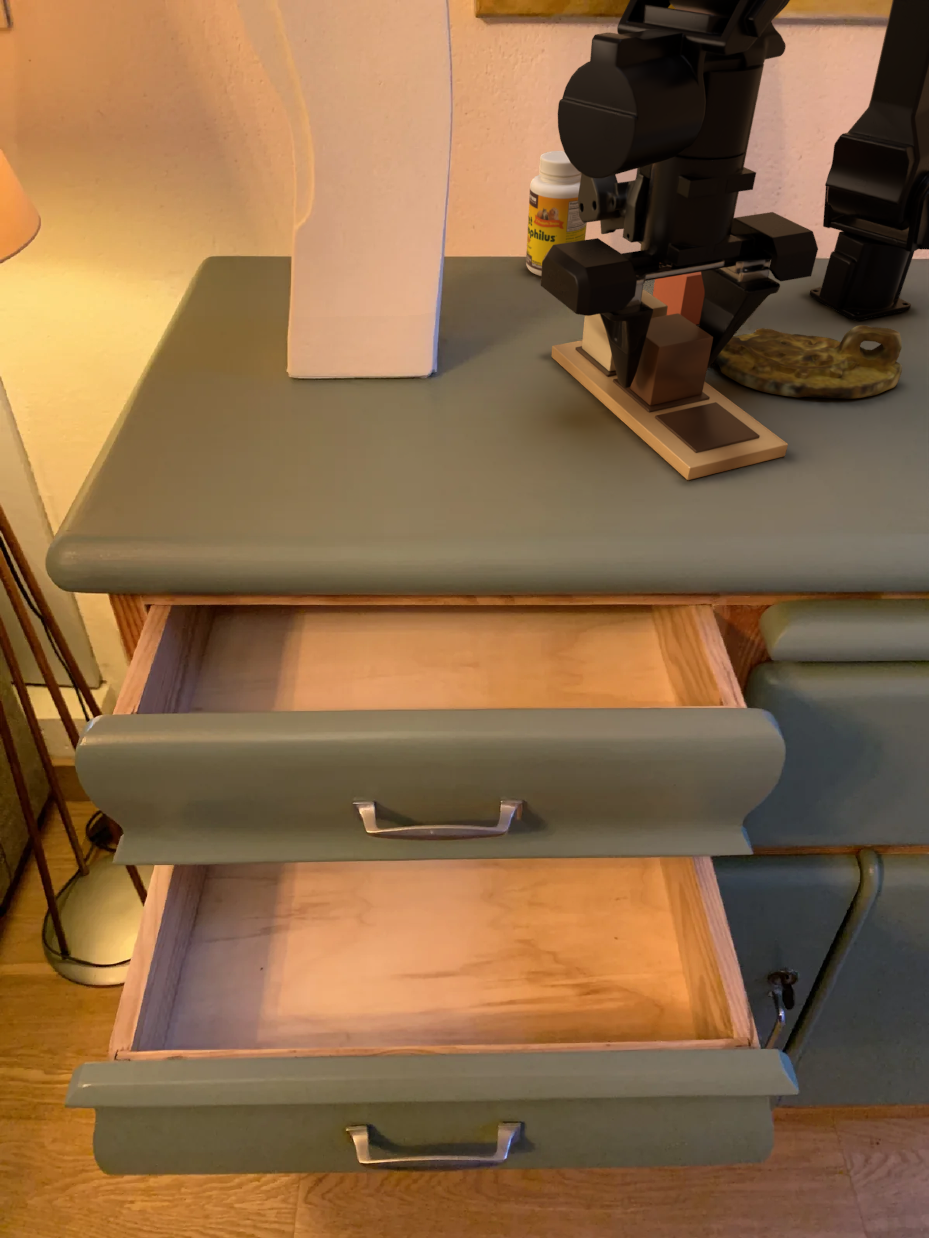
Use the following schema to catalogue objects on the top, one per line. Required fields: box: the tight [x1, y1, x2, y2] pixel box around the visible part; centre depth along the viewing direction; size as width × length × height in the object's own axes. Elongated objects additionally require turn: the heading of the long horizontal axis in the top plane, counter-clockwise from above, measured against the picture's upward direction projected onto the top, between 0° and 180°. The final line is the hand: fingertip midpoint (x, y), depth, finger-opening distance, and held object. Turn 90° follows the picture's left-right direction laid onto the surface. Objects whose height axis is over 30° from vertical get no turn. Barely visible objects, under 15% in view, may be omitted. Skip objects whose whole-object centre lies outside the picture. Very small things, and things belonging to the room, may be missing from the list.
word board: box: [551, 288, 789, 481], centre depth 66 cm, size 8×20×6 cm, turn 23°
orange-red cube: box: [652, 272, 704, 326], centre depth 78 cm, size 4×4×4 cm
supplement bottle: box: [525, 150, 588, 277], centre depth 84 cm, size 6×6×10 cm
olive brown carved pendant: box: [713, 324, 903, 400], centre depth 70 cm, size 9×5×15 cm
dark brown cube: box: [629, 313, 713, 405], centre depth 65 cm, size 4×4×4 cm
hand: (662, 377), depth 66 cm, fingers open, 6 cm apart
